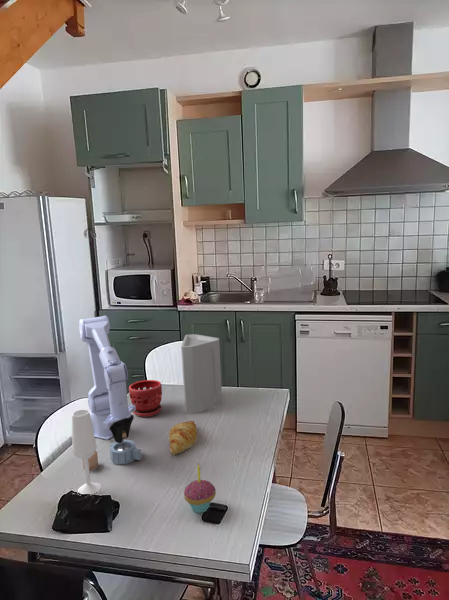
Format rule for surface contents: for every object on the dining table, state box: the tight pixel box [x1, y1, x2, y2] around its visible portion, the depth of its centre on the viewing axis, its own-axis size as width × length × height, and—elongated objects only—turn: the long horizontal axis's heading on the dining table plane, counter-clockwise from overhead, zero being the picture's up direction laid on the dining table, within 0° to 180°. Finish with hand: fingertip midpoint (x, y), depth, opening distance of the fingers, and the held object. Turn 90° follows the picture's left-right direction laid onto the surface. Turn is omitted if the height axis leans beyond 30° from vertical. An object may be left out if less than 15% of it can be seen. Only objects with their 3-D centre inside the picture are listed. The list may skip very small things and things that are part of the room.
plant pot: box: [128, 379, 163, 418], centre depth 180 cm, size 13×13×12 cm
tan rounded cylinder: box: [82, 450, 99, 471], centre depth 141 cm, size 5×5×4 cm
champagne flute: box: [71, 408, 102, 494], centre depth 127 cm, size 7×7×24 cm
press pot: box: [109, 439, 142, 466], centre depth 145 cm, size 11×8×4 cm
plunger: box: [116, 431, 130, 451], centre depth 145 cm, size 5×5×6 cm
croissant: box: [168, 420, 198, 456], centre depth 154 cm, size 21×10×8 cm, turn 167°
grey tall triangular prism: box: [180, 333, 223, 415], centre depth 184 cm, size 19×15×28 cm
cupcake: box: [183, 462, 217, 514], centre depth 118 cm, size 9×8×12 cm
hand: (122, 439), depth 145 cm, fingers closed on plunger, 3 cm apart
